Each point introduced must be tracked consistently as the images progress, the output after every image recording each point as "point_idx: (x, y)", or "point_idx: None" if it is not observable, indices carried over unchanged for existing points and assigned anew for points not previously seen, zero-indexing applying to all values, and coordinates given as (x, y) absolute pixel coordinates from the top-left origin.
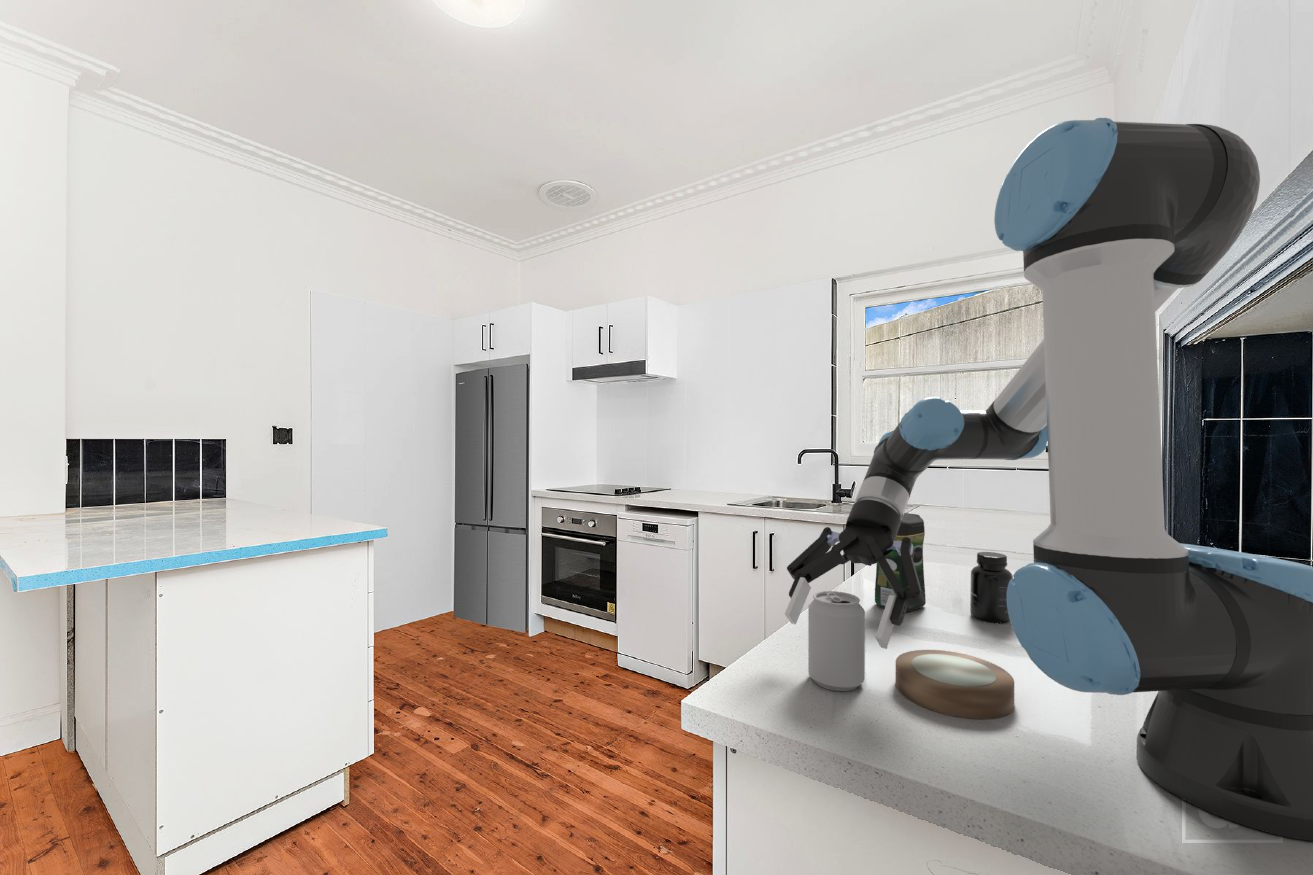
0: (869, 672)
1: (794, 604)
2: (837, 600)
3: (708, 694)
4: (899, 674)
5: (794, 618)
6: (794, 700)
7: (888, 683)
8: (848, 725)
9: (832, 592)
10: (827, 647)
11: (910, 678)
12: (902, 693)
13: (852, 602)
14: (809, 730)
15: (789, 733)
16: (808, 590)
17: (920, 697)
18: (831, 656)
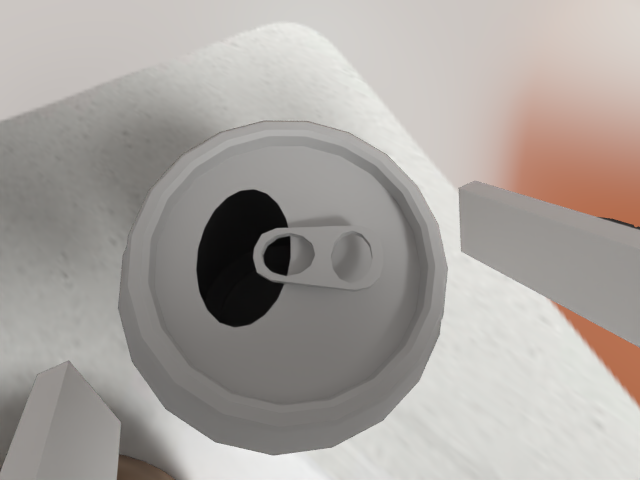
0: (293, 467)
1: (503, 210)
2: (296, 271)
3: (324, 49)
4: (123, 477)
5: (469, 235)
6: None
7: (205, 471)
8: (86, 201)
9: (418, 315)
10: (228, 219)
11: None
12: (124, 456)
13: (212, 338)
14: (116, 123)
15: (128, 88)
16: (631, 331)
17: None
18: (219, 237)
